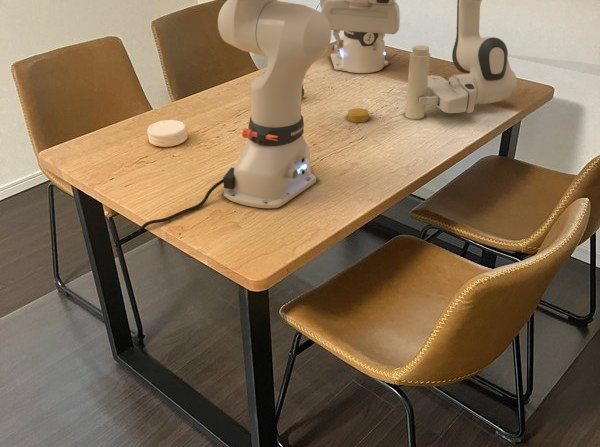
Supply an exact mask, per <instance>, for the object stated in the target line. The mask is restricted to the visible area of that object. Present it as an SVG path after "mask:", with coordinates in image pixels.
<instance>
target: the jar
mask: <svg viewBox="0 0 600 447" xmlns="http://www.w3.org/2000/svg"><path fill="white" fill-rule="evenodd" d="M430 63H431V53H430V47H429V46H427V45H422V44H418V45H417V44H416V45H413V46H412V48H411V52H410V53H409V65H408V77H407V87H406V88H407V89H406V100H405V112H404V116H405V117H406V118H408V119H411V120H421V119H423V118H425V115H426V114H425V113H426V104H420V103H418V97H419V96H425V97H426V94H427V84H428V76H429V75H430V74H429V73H430V65H431V64H430Z"/></svg>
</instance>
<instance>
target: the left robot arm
mask: <svg viewBox="0 0 600 447" xmlns="http://www.w3.org/2000/svg"><path fill="white" fill-rule="evenodd" d="M396 1H397V0H319V5H320V8H321V11H320V10H317V9H314V8H312V7H310V6H307V5H305V4H301V3H293V2H288V1H287V2H286V1H280V0H227V1H224V3H223V4H222V6H221V8H220V10H219V12H218V17H217V30H218V34H219V35H220V38H221V39H222V40H223V42H225V43H226V44H228V45H230V46H231V47H234V48H236V49H238V50H239V51H242V52H247V53H250V54H251V53H252V54H256V55H260V56H266V59H267V67H266V71H263V72H261V73H260V74H258V75H257V76H256V77H255V78H254V79H253V80H252V82H251V83H250V86H249V101H250V102H249V103H250V117H249V123H248V126H247V128H245V127H244V128H243V129H242V131H241V137H242V138H244V139H247V140H246V142H245V144H244V146H243V148H242V151H241V153H240V154H239V157H238V159H237V161H236V163H235V166H234V167H230V168H229V170H227V172H226V173H225V174H224V175H223V177H222V179H221V180H218V181H217V182H216V183H215V184H213V185H212V186H211V187H210V188H209V189H208V190H207V192H206V194H205V196H204V197H203V198H202V200H201V201H200V202H199V203H197V204H196V205H194V206H192V207H188V208H185V209H183V210H181V211H178V212H176V213H174V214H171V215H169V216H166V217H163V218H159V219H151V220H149V221H146V222H145V223H143V224H142V225H141V226H140V228H139V229H138V233H142V232H143V231H144V230H145V229H146V228H147V227H148V226H150V225H152V224H153V225H154V224H160V223H165V222H168V221H170V220H173V219H175V218H177V217H180V216H182V215H184V214H186V213H189V212H191V211H194V210H197V209H199V208H201V207H202V206H203V205H204V204H205V203H207V200H208V199H209V197H210V195H211V193H212V192H213V191H215V189H217V188H218V187H219V186H220V185H222V184H223V189H224V190H223V196H224V198H225V199H228V200H229V201H231V202H233V203H237V204H239V205H244V206H248V207H252V208H258V209H278V208H280V207H283V205H285V204H286V203H288V202H289V201H292V199H294V198H295V197H296V196H298V195H299V194H301V193H303V192H304V191H305V190H307V189H308V188H309V187H311V186H313V185H314V184H316V182H317V176H316V175H315V174H314V173H312V167H311V154H310V147H309V145H308V144H307V142H306V140H305V138H304V133H305V132H304V131H305V130H304V127H305V121H304V116H303V115H302V98H303V97H302V85H303V86H304V80H305V77H306V75H307V72H308V71H309V69H310V68H311V66H312V65H313V64H314V63H316V62H317V61H319V60H321V58H322V57H323V56H324V55H325V54H326V53H327V51H328V49H329V47H330V44H331V40H332V35H333V37H334V39H335V41H336V45H337V48H343V47H344V44H343V43H344V40H341V36H340V34H341V32H344V31H354V32H368V33H378V37H379V38H380V37H381V38H380V39H379V41H378V42H374V44H373V50H374V51H379V48H380V43H381V41H382V40H384V38H385V36H386V35H396V34H397V33H398V32H399V30H400V26H401V16H400V14H401V13H400V7H399V4H398V2H396ZM301 97H302V98H301Z"/></svg>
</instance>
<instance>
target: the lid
mask: <svg viewBox="0 0 600 447" xmlns="http://www.w3.org/2000/svg"><path fill="white" fill-rule="evenodd" d="M369 118H370V111H369V109H366V108H362V107H355V108H350V109H348V111H347V120H348V121H350V122H352V123H365V122H367V121H368V120H369Z"/></svg>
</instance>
